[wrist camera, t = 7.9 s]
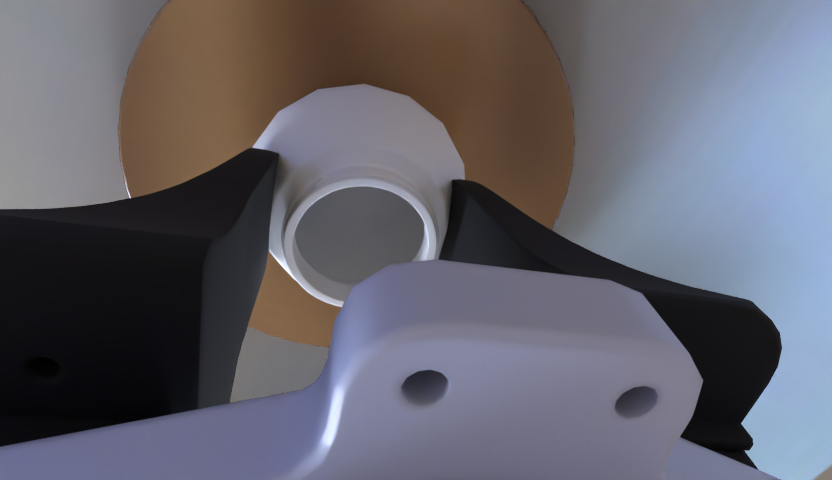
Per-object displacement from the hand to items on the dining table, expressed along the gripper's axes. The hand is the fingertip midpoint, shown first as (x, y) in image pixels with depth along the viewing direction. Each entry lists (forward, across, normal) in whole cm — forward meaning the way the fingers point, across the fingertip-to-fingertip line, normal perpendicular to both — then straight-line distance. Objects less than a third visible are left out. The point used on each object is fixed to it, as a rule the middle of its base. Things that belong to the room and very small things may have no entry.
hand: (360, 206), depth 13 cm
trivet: (+2, 0, 0) cm, 2 cm away
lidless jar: (+1, 0, 0) cm, 1 cm away
